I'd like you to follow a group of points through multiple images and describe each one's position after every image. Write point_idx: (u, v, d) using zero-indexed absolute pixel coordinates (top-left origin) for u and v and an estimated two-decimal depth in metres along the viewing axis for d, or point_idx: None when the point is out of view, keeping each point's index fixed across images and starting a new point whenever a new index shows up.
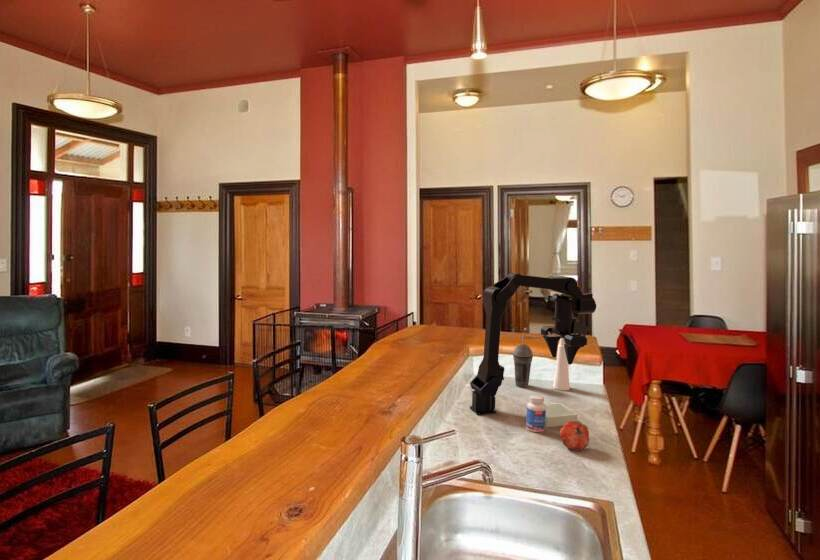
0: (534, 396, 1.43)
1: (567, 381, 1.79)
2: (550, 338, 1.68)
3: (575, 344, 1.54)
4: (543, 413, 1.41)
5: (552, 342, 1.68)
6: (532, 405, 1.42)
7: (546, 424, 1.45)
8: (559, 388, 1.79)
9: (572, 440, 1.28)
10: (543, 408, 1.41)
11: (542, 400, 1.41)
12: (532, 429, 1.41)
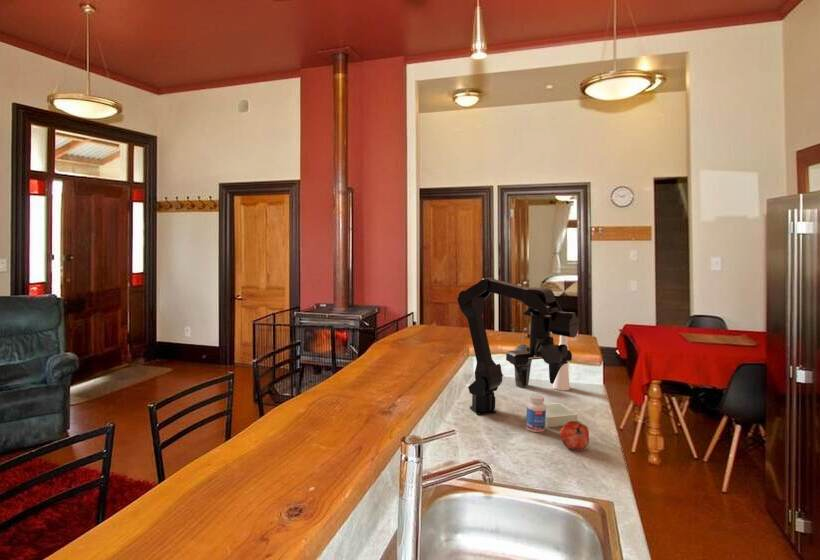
0: (534, 396, 1.43)
1: (567, 381, 1.79)
2: None
3: (507, 359, 1.41)
4: (543, 413, 1.41)
5: (551, 365, 1.45)
6: (532, 405, 1.42)
7: (546, 424, 1.45)
8: (559, 388, 1.79)
9: (572, 440, 1.28)
10: (543, 408, 1.41)
11: (542, 400, 1.41)
12: (532, 429, 1.41)
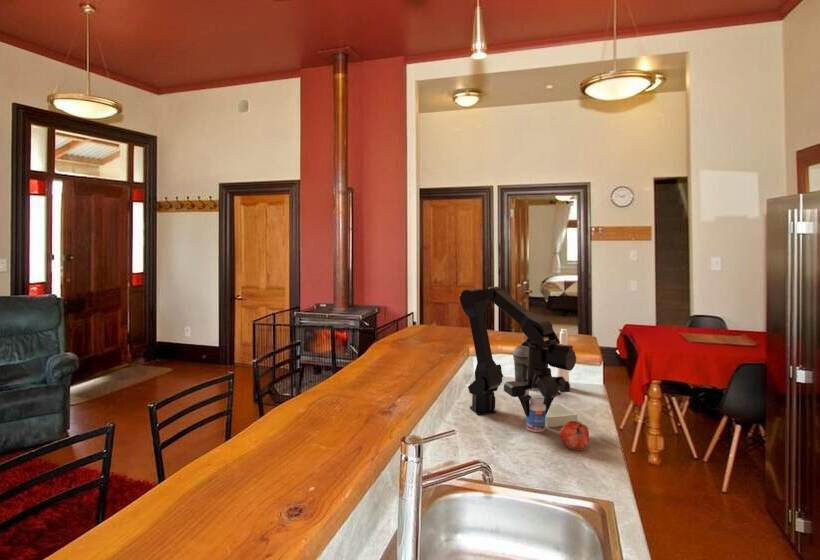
0: (534, 396, 1.43)
1: None
2: None
3: (505, 390, 1.41)
4: (543, 413, 1.41)
5: (545, 396, 1.44)
6: (532, 405, 1.42)
7: (546, 424, 1.45)
8: None
9: (572, 440, 1.28)
10: (543, 408, 1.41)
11: (542, 400, 1.41)
12: (532, 429, 1.41)
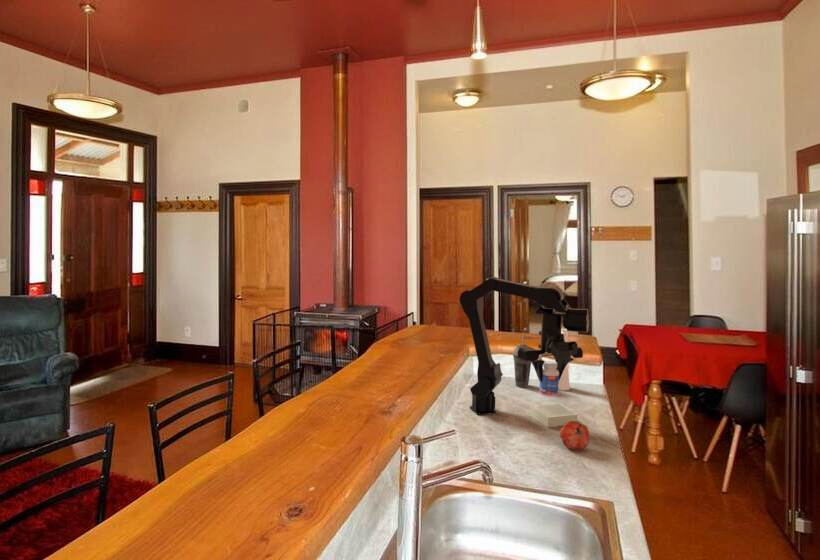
0: (547, 362, 1.46)
1: (567, 381, 1.79)
2: None
3: (519, 355, 1.45)
4: (556, 378, 1.45)
5: (558, 362, 1.48)
6: (545, 370, 1.45)
7: (546, 424, 1.45)
8: (559, 388, 1.79)
9: (572, 440, 1.28)
10: (556, 373, 1.44)
11: (555, 365, 1.45)
12: (545, 394, 1.45)
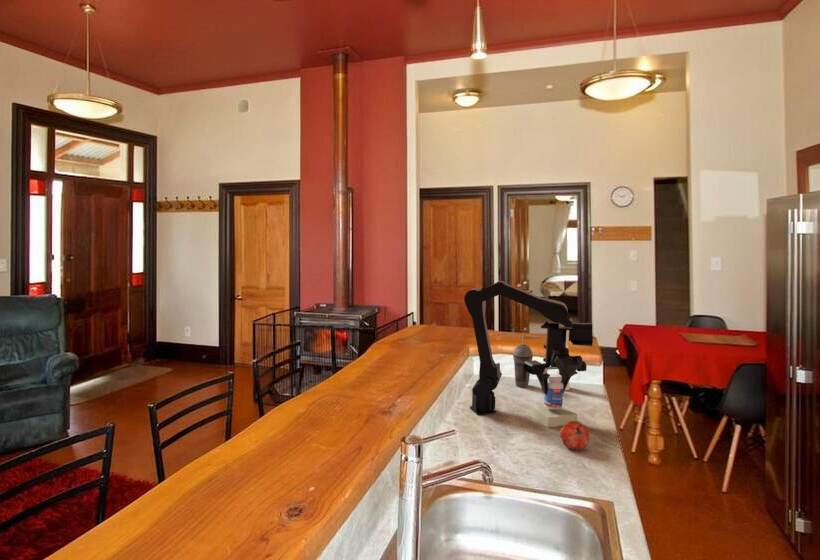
0: (552, 375, 1.50)
1: None
2: None
3: (524, 369, 1.48)
4: (561, 391, 1.48)
5: (562, 375, 1.51)
6: (550, 383, 1.48)
7: (546, 424, 1.45)
8: None
9: (572, 440, 1.28)
10: (561, 386, 1.48)
11: (560, 379, 1.48)
12: (550, 406, 1.48)
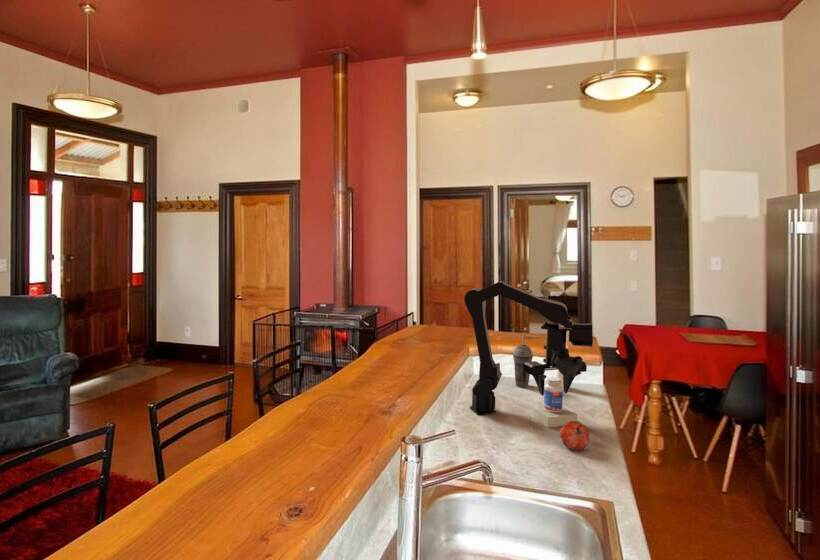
0: (551, 378, 1.50)
1: None
2: None
3: (525, 369, 1.48)
4: (560, 394, 1.48)
5: (565, 375, 1.52)
6: (549, 387, 1.48)
7: (546, 424, 1.45)
8: None
9: (572, 440, 1.28)
10: (560, 389, 1.48)
11: (559, 382, 1.48)
12: (550, 410, 1.48)
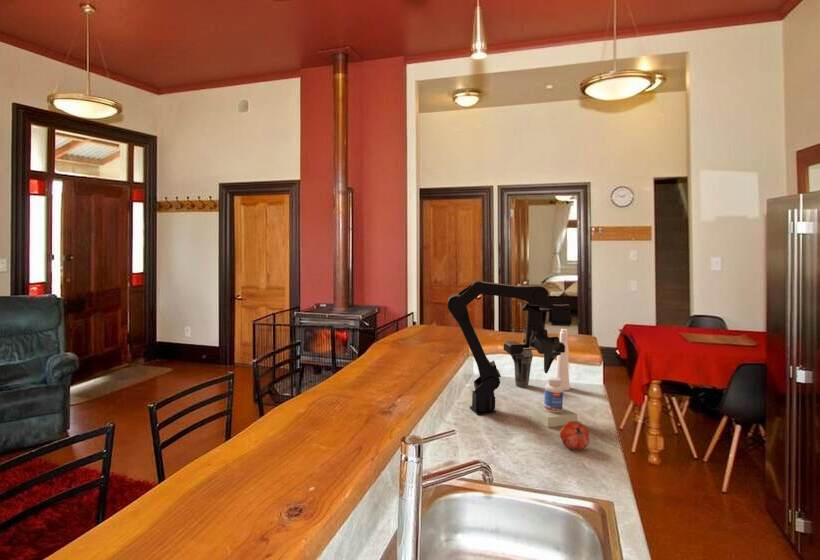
0: (552, 378, 1.50)
1: (567, 381, 1.79)
2: None
3: (504, 349, 1.54)
4: (561, 394, 1.48)
5: (546, 356, 1.57)
6: (550, 387, 1.49)
7: (546, 424, 1.45)
8: None
9: (572, 440, 1.28)
10: (561, 390, 1.48)
11: (560, 382, 1.48)
12: (550, 410, 1.48)
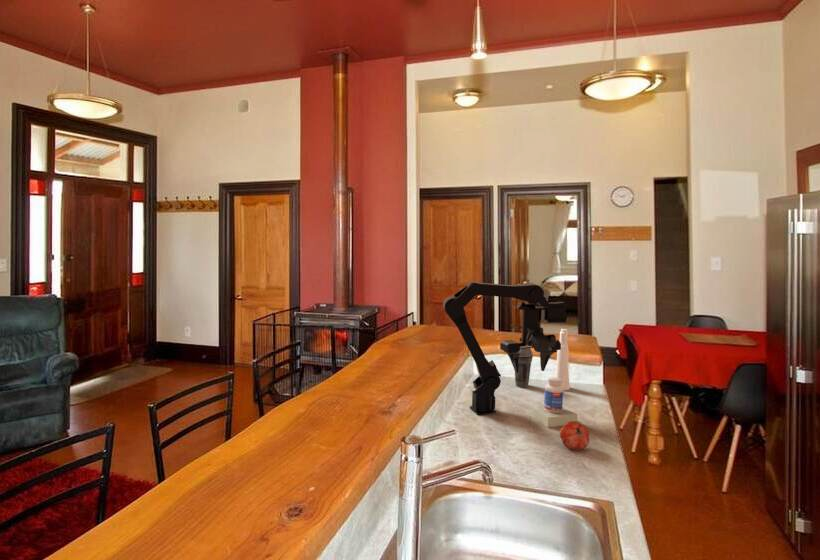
0: (552, 379, 1.50)
1: (567, 381, 1.79)
2: None
3: (501, 348, 1.54)
4: (561, 395, 1.48)
5: (542, 354, 1.58)
6: (550, 387, 1.48)
7: (546, 424, 1.45)
8: None
9: (572, 440, 1.28)
10: (561, 390, 1.48)
11: (560, 382, 1.48)
12: (550, 410, 1.48)
